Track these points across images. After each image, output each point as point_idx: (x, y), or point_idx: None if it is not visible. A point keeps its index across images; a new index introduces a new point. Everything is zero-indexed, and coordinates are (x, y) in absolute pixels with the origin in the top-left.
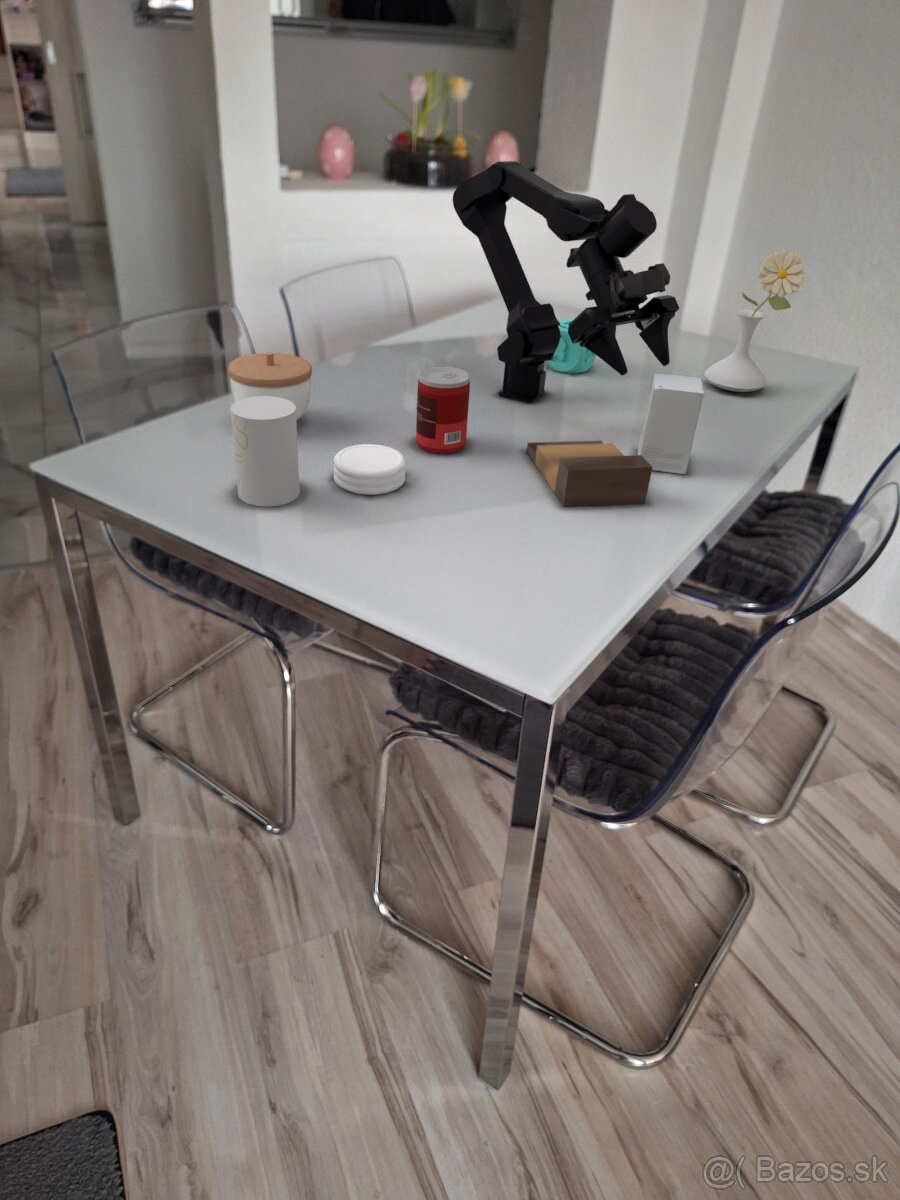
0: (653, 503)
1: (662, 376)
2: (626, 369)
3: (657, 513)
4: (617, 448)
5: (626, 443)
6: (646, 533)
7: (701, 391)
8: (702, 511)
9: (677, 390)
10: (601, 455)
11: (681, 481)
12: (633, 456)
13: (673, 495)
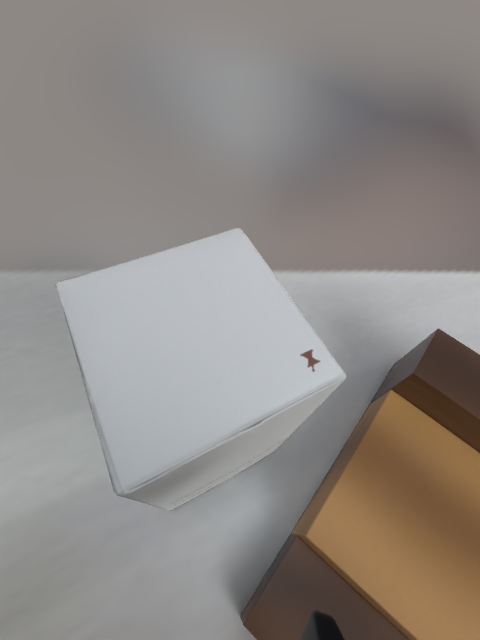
0: (379, 354)
1: (158, 419)
2: (327, 625)
3: (402, 334)
4: (327, 500)
5: (136, 574)
6: (467, 321)
7: (227, 236)
8: (333, 288)
9: (287, 296)
10: (403, 509)
11: None
12: (437, 383)
13: (322, 341)
